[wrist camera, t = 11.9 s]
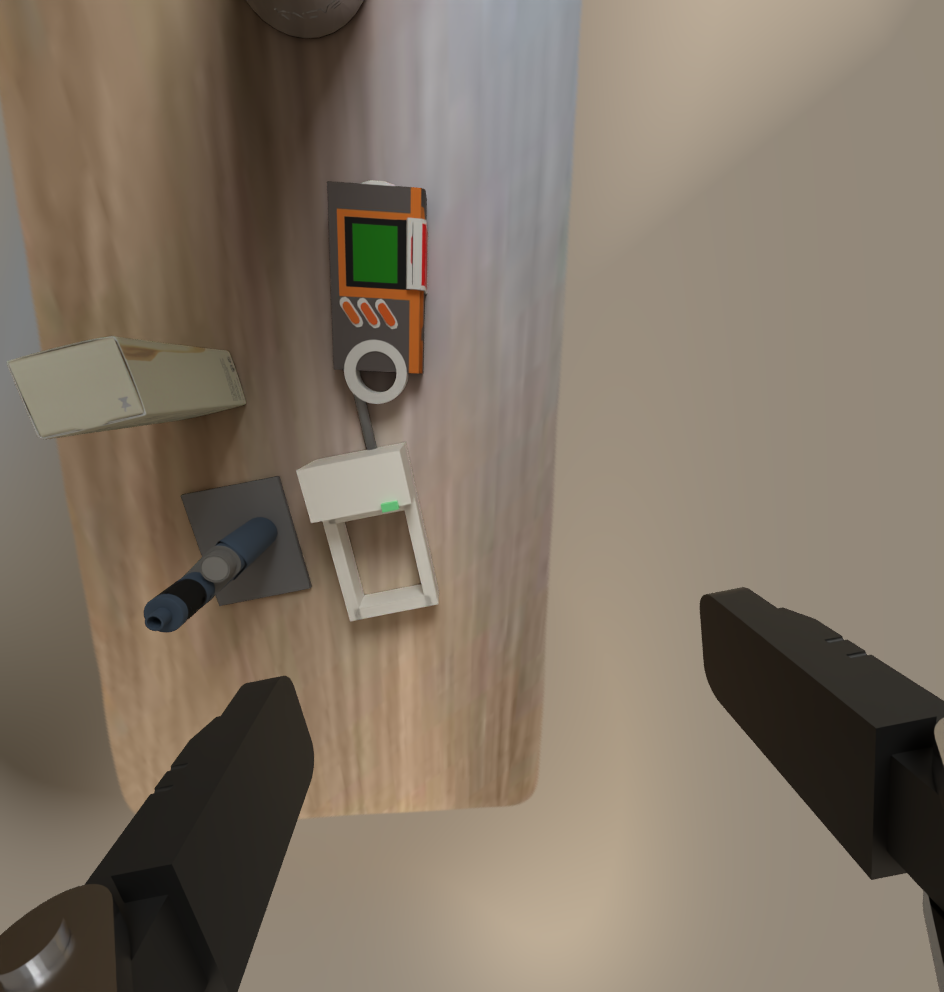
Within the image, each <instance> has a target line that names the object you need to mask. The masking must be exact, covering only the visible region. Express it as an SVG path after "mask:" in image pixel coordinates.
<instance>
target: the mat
mask: <svg viewBox="0 0 944 992" xmlns="http://www.w3.org/2000/svg"><path fill="white" fill-rule="evenodd" d="M181 498H182V501H183V504H184V507H185V509H186V512H187V515H188V518H189V521H190V524H191V527H192V529H193V532H194V535H195V538H196V541H197V544H198V546H199V549H200V552H201V555H202V557H203V556H204V555H205V554H206V553H207V552H208V551H209V550H210V549H211V548H212V547H214V546H215V545H216V544H217V542H218V541H220V540H221V539H223V538H224V537H226V536H227V535H229V534H230V533H232V532H233V531H235V530H236V529H238V528H239V527H240V526H242V525H243V524H245V523H246V522H248V521H249V520H251V519H252V518H257V517H263V518H267V519H269V520H270V521H272V522H273V523H274V525H275V526H276V528H277V537H276V539H275V541H274V542H273V543H272V544H271V545H270V546H269V547H268V548H267V549H266V550H265V551H264V552H263V553H262V554H261V555H260V556H259V557H258V558H257V559H256V560H255V561H254V562H253V563H252V564H251V565H249V566H248V567H247V568H246V569H245V570H244V571H243V572H242V573H241V574H240V575H239V576H238V577H237V578H236V579H235V580H232V581H231V582H230V583H228V584H227V585H226V586H225V587H224V588H223V589H222V590H221V591H220V592H218V593H217V594H216V598H217V600H218V603H219V606H222V605H227V604H232V603H237V602H242V601H247V600H253V599H258V598H263V597H268V596H273V595H278V594H283V593H289V592H294V591H299V590H304V589H309V588H311V587H312V585H311V582H310V579H309V575H308V572H307V568H306V565H305V562H304V558H303V555H302V551H301V548H300V545H299V541H298V538H297V534H296V531H295V528H294V524H293V521H292V517H291V514H290V511H289V507H288V504H287V500H286V497H285V494H284V490H283V487H282V484H281V480H280V477H279V476H276V477H271V478H266V479H261V480H255V481H250V482H245V483H240V484H235V485H230V486H224V487H219V488H214V489H209V490H204V491H199V492H193V493H188V494H183V495H181Z"/></svg>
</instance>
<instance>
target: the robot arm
mask: <svg viewBox="0 0 944 992" xmlns="http://www.w3.org/2000/svg"><path fill="white" fill-rule="evenodd" d="M246 1H247V2H248V4H249V5H250V7H251V8H252V9H253V10H254V11H255V12H256V13H257V14H258V15H259V16H260V18H261V19H262V20H264V21H265V22H267V23H268V24H269V25H271V26H272V27H274V28H275V29H277V30H279V31H281V32H284V33H286V34H288V35H291V36H296V37H301V38H315V37H321V36H325V35H328V34H331V33H333V32H335V31H336V30H338V29H340V28H341V27H343V26H344V25H346V24H347V22H348V21H349V20H350V19H351V18H352V17H353V16H354V15H355V14H356V13H357V11H358V9H359V7H360V6H361V4H362V2H363V1H364V0H246ZM700 619H701V630H702V631H701V632H702V644H703V645H702V646H703V659H704V668H705V673H706V677H707V680H708V683H709V685H710V687H711V689H712V691H713V693H714V695H715V696H716V698H717V700H718V701H719V702H720V703H721V705H722V706H723V707H724V708H725V709H726V710H727V712H728V713H729V714H730V715H731V716H732V717H733V719H734V720H735V721H736V722H737V723H738V724H739V726H740V727H741V728H742V729H743V730H744V731H745V733H746V734H747V735H748V736H749V737H750V738H751V740H753V742H754V743H755V744H756V746H757V747H758V748H759V749H760V750H761V751H762V753H763V754H764V755H765V756H766V757H767V758H768V759H769V761H771V763H772V764H773V765H774V767H776V769H777V770H778V771H779V772H780V773H781V775H782V776H783V777H784V778H785V779H786V781H787V782H788V783H789V784H790V785H791V786H792V788H793V789H794V790H795V791H796V792H797V793H798V795H799V796H800V797H801V798H802V799H803V800H804V802H805V803H806V804H807V805H808V806H809V807H810V809H811V810H812V811H813V812H814V813H815V814H816V816H817V817H818V818H819V819H820V820H821V822H822V823H823V824H824V825H825V826H826V827H827V829H828V830H829V831H830V832H831V833H832V834H833V836H834V837H835V838H836V839H837V840H838V841H839V843H840V844H841V845H842V846H843V847H844V848H845V850H846V851H847V852H848V853H849V854H850V855H851V857H852V858H853V859H854V860H855V861H856V862H857V864H858V865H859V866H860V867H861V868H862V869H863V871H864V872H865V873H866V874H867V875H868V877H869V878H870V879H871V880H873V879H878V878H883V877H888V876H893V875H898V874H903V873H908V874H909V875H910V877H912V879H913V880H914V881H915V882H916V883H917V884H918V885H919V886H920V887H921V888H922V889H923V913H924V918H925V923H926V927H927V932H928V937H929V942H930V947H931V952H932V956H933V961H934V966H935V971H936V976H937V981H938V986H939V990H940V992H944V701H943V700H941V699H940V698H938V697H937V696H935V695H934V694H932V693H930V692H929V691H927V690H926V689H924V688H923V687H921V686H920V685H918V684H916V683H915V682H913V681H911V680H910V679H908V678H907V677H905V676H904V675H902V674H901V673H899V672H897V671H896V670H894V669H893V668H891V667H890V666H888V665H887V664H885V663H883V662H882V661H880V660H879V659H877V658H876V657H874V656H872V655H867V654H866V652H865V650H863V649H861V648H860V647H858V646H857V645H855V644H854V643H852V642H850V641H849V640H843V638H842V636H841V635H840V634H838V633H836V632H835V631H833V630H832V629H830V628H828V627H827V626H825V625H824V624H822V623H821V622H819V621H818V620H816V619H813V618H811V617H808V616H805V615H802V614H799V613H797V612H794V611H791V610H788V609H785V608H776V607H775V606H773V605H772V604H770V603H769V602H767V601H766V600H764V599H763V598H762V597H760V596H759V595H757V594H756V593H754V592H753V591H751V590H750V589H748V588H744V587H742V588H737V589H731V590H727V591H721V592H716V593H711V594H706V595H703V596H702V598H701V600H700ZM313 768H314V751H313V745H312V741H311V737H310V734H309V731H308V728H307V725H306V722H305V719H304V716H303V713H302V710H301V706H300V703H299V700H298V697H297V694H296V691H295V688H294V685H293V683H292V681H291V680H290V678H288V677H287V676H281V677H276V678H270V679H265V680H260V681H255V682H250V683H246V684H244V685H243V686H241V688H240V689H239V690H238V692H237V693H236V695H235V696H234V698H233V699H232V701H231V702H230V703H229V705H228V706H227V708H226V709H225V711H224V712H223V714H222V715H221V716H219V717H216V718H215V719H213V720H212V721H211V722H210V723H209V724H208V725H207V726H206V727H204V728H203V729H202V730H201V731H200V732H199V733H198V734H196V735H195V736H194V737H193V738H192V739H191V740H190V741H189V742H188V743H187V745H186V746H185V747H184V749H183V750H182V752H181V753H180V754H179V756H178V757H177V758H176V760H175V761H174V763H173V764H172V765H171V771H167V772H166V774H165V775H164V776H163V778H162V779H161V780H160V782H159V783H158V785H157V786H156V787H155V793H154V794H150V796H149V797H148V798H147V800H146V801H145V802H144V804H143V805H142V806H141V808H140V809H139V811H138V812H137V813H136V815H135V816H134V818H133V819H132V820H131V822H130V823H129V824H128V826H127V827H126V828H125V830H124V831H123V833H122V834H121V835H120V837H119V838H118V840H117V841H116V842H115V844H114V845H113V846H112V848H111V849H110V850H109V852H108V853H107V855H106V856H105V857H104V859H103V860H102V861H101V863H100V864H99V865H98V867H97V868H96V870H95V871H94V872H93V874H92V875H91V876H90V878H89V879H88V881H87V882H86V884H85V885H82V886H78V887H75V888H72V889H69V890H67V891H64V892H62V893H60V894H58V895H56V896H54V897H52V898H50V899H49V900H47V901H45V902H43V903H42V904H40V905H39V906H37V907H36V908H34V909H33V910H31V911H30V912H28V913H27V914H26V915H24V916H23V917H22V918H20V919H19V920H18V921H16V922H15V923H14V924H13V925H11V926H10V927H9V928H8V929H7V930H6V931H4V932H3V933H2V934H1V935H0V992H238V989H239V986H240V983H241V980H242V977H243V975H244V972H245V969H246V966H247V963H248V960H249V957H250V954H251V952H252V949H253V946H254V943H255V940H256V937H257V934H258V931H259V928H260V925H261V923H262V920H263V917H264V914H265V911H266V908H267V905H268V902H269V900H270V897H271V894H272V891H273V888H274V885H275V882H276V879H277V877H278V874H279V871H280V868H281V865H282V862H283V860H284V856H285V854H286V851H287V848H288V845H289V842H290V839H291V837H292V834H293V831H294V828H295V825H296V822H297V819H298V816H299V814H300V811H301V808H302V805H303V802H304V799H305V796H306V793H307V791H308V788H309V785H310V782H311V779H312V774H313Z"/></svg>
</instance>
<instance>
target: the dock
mask: <svg viewBox="0 0 944 992" xmlns="http://www.w3.org/2000/svg"><path fill="white" fill-rule="evenodd" d="M359 376H360V375H359ZM353 394H354V393H353ZM354 399H355V403H356V407H357V411H358V415H359V419H360V423H361V427H362V431H363V435H364V440H365V444H366V448H367V450H362V451H357V452H352V453H347V454H341V455H336V456H331V457H326V458H321V459H316V460H314V461H312V462H310V463H309V464H307V465H305V466H303V467H301V468H300V469H298V470H296V472H297V475H298V479H299V482H300V486H301V489H302V493H303V497H304V500H305V504H306V507H307V511H308V514H309V518H310V521H311V523H315V522H320V521H322V522H323V525H324V529H325V533H326V536H327V540H328V543H329V547H330V551H331V554H332V558H333V561H334V565H335V568H336V572H337V576H338V579H339V583H340V586H341V590H342V594H343V597H344V601H345V604H346V608H347V612H348V615H349V619H350V621H355V620H360V619H365V618H370V617H375V616H380V615H385V614H391V613H396V612H401V611H406V610H411V609H416V608H421V607H426V606H431V605H437V604H438V602H439V589H438V584H437V580H436V575H435V571H434V566H433V562H432V557H431V553H430V548H429V544H428V539H427V535H426V530H425V526H424V522H423V517H422V513H421V508H420V504H419V499H418V495H417V490H416V486H415V481H414V477H413V472H412V468H411V463H410V459H409V454H408V450H407V445H406V442H403V443H398V444H393V445H388V446H383V447H378V448H377V446H376V442H375V438H374V434H373V430H372V425H371V421H370V417H369V413H368V409H367V404H366V402H365V401H363V400H361V399H360V398H358V397H357V396H356V395H355V394H354ZM403 510H404V511H405V515H406V519H407V524H408V528H409V532H410V537H411V541H412V545H413V550H414V554H415V558H416V563H417V567H418V571H419V576H420V580H421V584H418V585H413V586H408V587H403V588H398V589H393V590H388V591H382V592H377V593H372V594H367V595H364V592H363V588H362V584H361V580H360V577H359V573H358V569H357V565H356V561H355V558H354V554H353V550H352V546H351V543H350V539H349V535H348V531H347V528H346V524H345V522H346V521H351V520H357V519H362V518H367V517H372V516H377V515H382V514H387V513H393V512H398V511H403Z"/></svg>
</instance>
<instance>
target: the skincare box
mask: <svg viewBox="0 0 944 992" xmlns="http://www.w3.org/2000/svg"><path fill="white" fill-rule="evenodd" d="M7 366H8V368H9V370H10V373H11V375H12V377H13V380H14V382H15V385H16V387H17V390H18V392H19V394H20V397H21V399H22V402H23V404H24V406H25V408H26V411H27V413H28V416H29V418H30V420H31V423H32V425H33V427H34V429H35V432H36V434H37V436H38V437H39V438H41V439H52V438H59V437H66V436H73V435H80V434H87V433H94V432H101V431H108V430H115V429H122V428H129V427H136V426H143V425H150V424H158V423H165V422H172V421H178V420H183V419H188V418H193V417H198V416H202V415H207V414H211V413H215V412H219V411H223V410H227V409H231V408H235V407H238V406H242V405H245V404H246V400H245V397H244V394H243V390H242V387H241V384H240V381H239V378H238V375H237V372H236V369H235V366H234V363H233V361H232V358H231V355H230V353H229V351H226V350H218V349H209V348H201V347H193V346H186V345H177V344H169V343H162V342H153V341H145V340H138V339H130V338H122V337H117V336H109V337H102V338H97V339H92V340H86V341H82V342H77V343H73V344H69V345H65V346H61V347H57V348H53V349H49V350H45V351H41V352H38V353H34V354H30V355H28V356H23V357H20V358H17V359H13V360H10V361H7Z"/></svg>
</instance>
